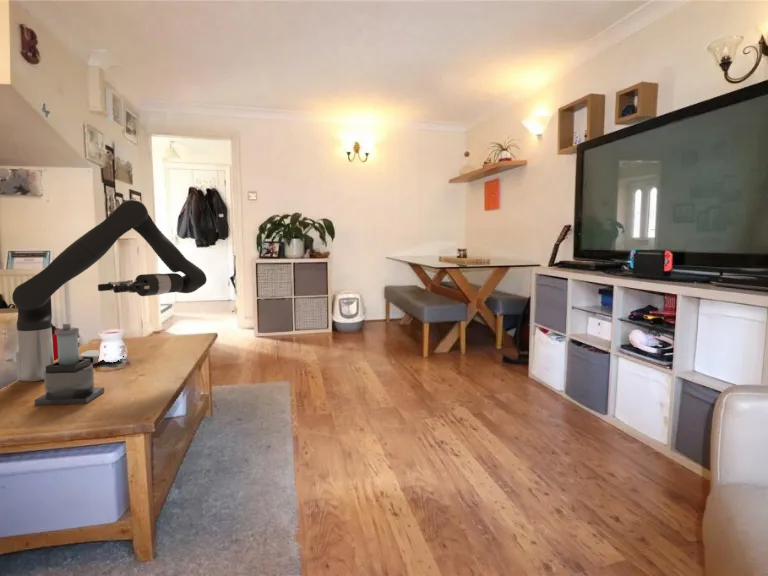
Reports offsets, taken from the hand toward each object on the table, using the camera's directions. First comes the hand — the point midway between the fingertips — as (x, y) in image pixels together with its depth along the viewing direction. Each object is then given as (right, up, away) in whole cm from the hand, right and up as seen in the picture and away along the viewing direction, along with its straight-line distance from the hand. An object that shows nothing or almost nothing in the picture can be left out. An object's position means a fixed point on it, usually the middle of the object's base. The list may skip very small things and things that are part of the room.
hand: (106, 288), depth 142 cm
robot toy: (-20, -29, +30) cm, 47 cm away
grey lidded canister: (-5, -24, -9) cm, 26 cm away
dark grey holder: (-6, -33, -8) cm, 34 cm away
